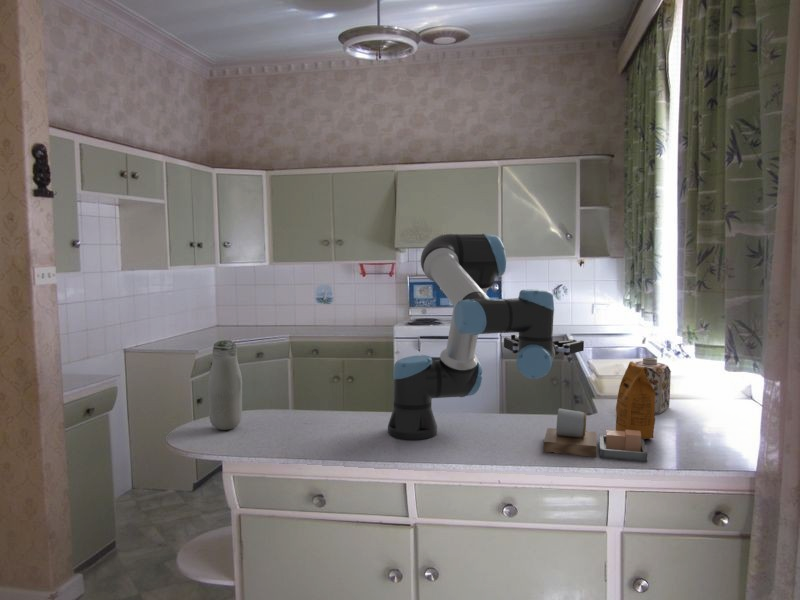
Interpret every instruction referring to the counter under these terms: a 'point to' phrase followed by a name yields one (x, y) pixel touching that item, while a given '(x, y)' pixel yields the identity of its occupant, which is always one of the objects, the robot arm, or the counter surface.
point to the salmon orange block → (633, 440)
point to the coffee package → (636, 402)
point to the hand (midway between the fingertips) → (545, 339)
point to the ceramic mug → (571, 423)
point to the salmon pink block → (615, 440)
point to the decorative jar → (658, 382)
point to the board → (570, 443)
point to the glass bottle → (225, 387)
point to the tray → (622, 452)
